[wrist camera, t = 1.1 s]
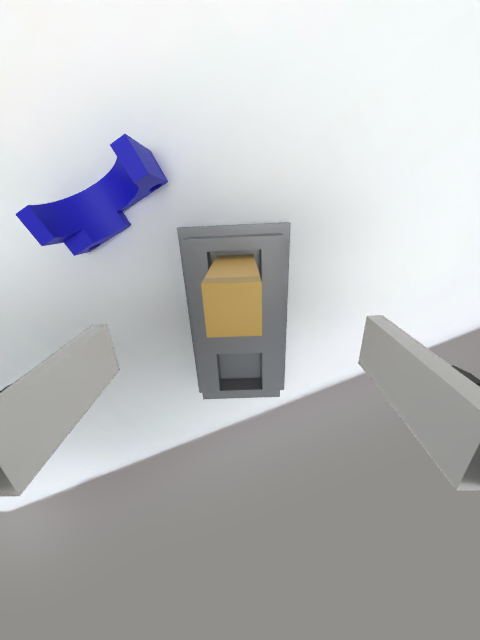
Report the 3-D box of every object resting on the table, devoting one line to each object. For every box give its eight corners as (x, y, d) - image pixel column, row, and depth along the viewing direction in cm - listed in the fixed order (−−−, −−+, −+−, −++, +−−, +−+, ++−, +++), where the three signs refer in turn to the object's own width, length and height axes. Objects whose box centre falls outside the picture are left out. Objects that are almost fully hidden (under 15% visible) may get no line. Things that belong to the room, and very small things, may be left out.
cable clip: (90, 251, 28) (53, 260, 23) (61, 214, 27) (15, 214, 21) (176, 196, 26) (159, 191, 20) (151, 151, 24) (125, 133, 19)
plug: (219, 289, 29) (206, 337, 18) (216, 255, 27) (201, 283, 16) (253, 288, 29) (261, 335, 18) (252, 253, 27) (261, 281, 16)
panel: (200, 387, 36) (196, 405, 33) (179, 227, 27) (171, 229, 24) (282, 385, 36) (287, 402, 32) (288, 222, 27) (295, 223, 23)
